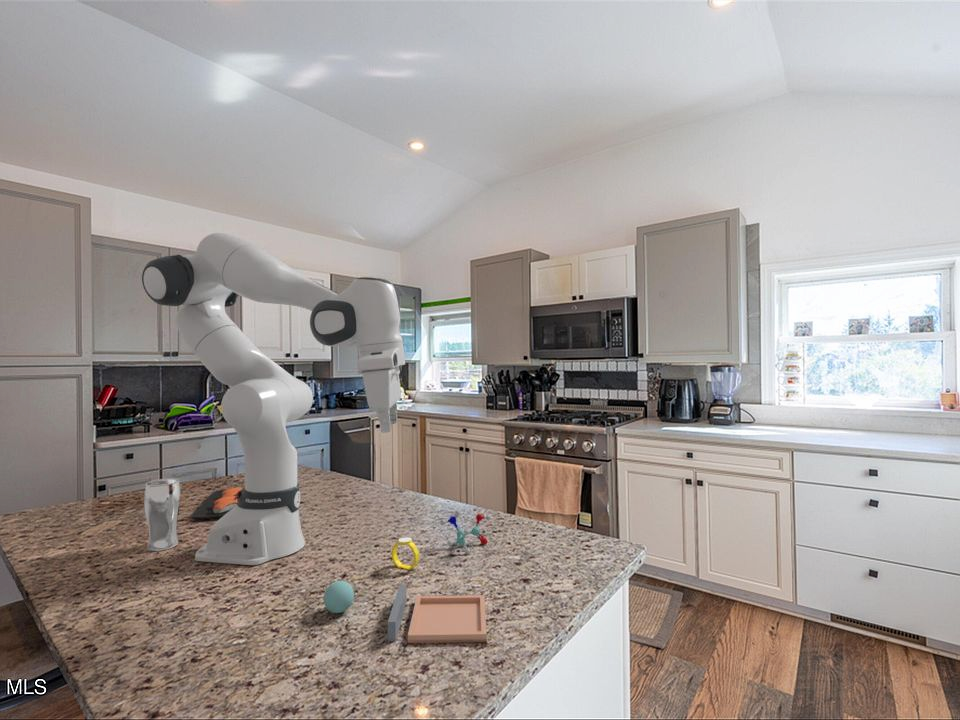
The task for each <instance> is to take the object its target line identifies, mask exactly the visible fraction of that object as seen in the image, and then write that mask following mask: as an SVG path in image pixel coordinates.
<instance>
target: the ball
mask: <svg viewBox="0 0 960 720" xmlns="http://www.w3.org/2000/svg"><path fill="white" fill-rule="evenodd" d="M354 599H355V591H354V588H353V587H352V585H351V584H350V583H349V582H347V581H345V580H336V581H334V582H332V583H331V584H330V585H329V586H328V587H326V590H325V592H324V593H323V604H324V606H325V608H326V610H328V611H329V612H330V613H333V614H342V613H344V612H346V611H347V610H349V608H350V607H351V606H352V605H353V601H354Z"/></svg>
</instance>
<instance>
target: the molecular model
mask: <svg viewBox="0 0 960 720" xmlns="http://www.w3.org/2000/svg"><path fill="white" fill-rule="evenodd" d="M460 515H461V511H460V510H459V509H456V510H455V512H454V515H453V516H450V518H449V519H446V520H445V519H444V518H443V519H440V521H439V523H440V525H441V526H445V525H446V524H448V523H449V524H451V525H453V526H454V527H455V529H456V531H457V532H456V536H457V537H456V538H455V539H454V540H451V539H449V540H448V541H447V546H449V547H452V546H453V545H455V546H458V545H459V546H462V547H463V549H464V553H465V555H470V554H471V550H470V548H468V547H467V545H466V537H467V536H468V535H470V534H471V535H473V536H476V537H477V538H478V539H479V541H480V543H481V545H483V546H485V545H487V543H488V539H487V538H486V537H484V536H483V535H482V534H481V532H480V528H479V525H480V521H482V520H486V521H490V520H491V519H492V516H491V515H490V514H487V515H483V514H481V513H478V514H476V515H475V519H476V523H475V526H474V527H473V528H472V529H471V530H469V529H467V528H466V529H465V530H462V529H460V527H459V526H458V524H457V517H458V516H460Z"/></svg>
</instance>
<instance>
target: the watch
mask: <svg viewBox="0 0 960 720" xmlns="http://www.w3.org/2000/svg"><path fill="white" fill-rule="evenodd" d="M397 541H398V542H395V544H393V546H392V549H391V558H392V561H393V563H394V565H395V566H396V567H397V568H398V569H402V568H403V570H408V571H411V570H412V569H413V568H415V567H416V566H417V565H418V564H419V560H420V551H419V549H418V547H417V545H416V544H415V543H414V542H413V540H412V537H407V536H406V537H405V536H404V537H400V538H398V540H397ZM399 545H400V546H408V547H409V548H410V549H411V551H412V553H413V558H414V561H413V562H412V565H408V564H405V563H402V562H401V561H400V559H399V557H398V554H397V553H398V552H397V551H398V547H399Z"/></svg>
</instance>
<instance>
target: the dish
mask: <svg viewBox="0 0 960 720" xmlns="http://www.w3.org/2000/svg"><path fill="white" fill-rule="evenodd" d="M485 597H486V596H485V594H484V595H483V594H482V595H481V594H477V595H476V594H475V595H474V594H472V595H471V594H470V595H469V594H466V595H464V594H463V595H416V598H415V602H414V607H413V611H412V616H411V620H410V624H409V627H408V632H407V644H439V643H441V644H442V643H445V644H446V643H448V644H449V643H452V644H453V643H487V642H488V641H487V638H488V637H487V636H488V634H487V631H488V630H487V615H486V602H485V601H486V599H485Z"/></svg>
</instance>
